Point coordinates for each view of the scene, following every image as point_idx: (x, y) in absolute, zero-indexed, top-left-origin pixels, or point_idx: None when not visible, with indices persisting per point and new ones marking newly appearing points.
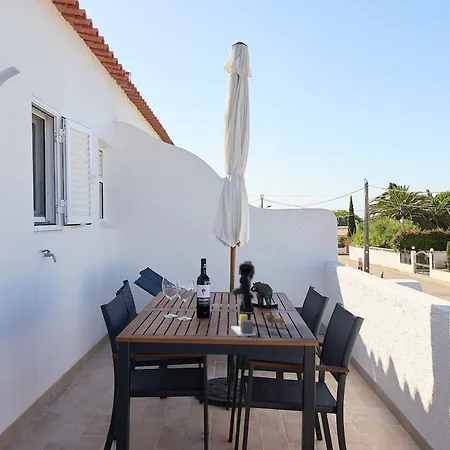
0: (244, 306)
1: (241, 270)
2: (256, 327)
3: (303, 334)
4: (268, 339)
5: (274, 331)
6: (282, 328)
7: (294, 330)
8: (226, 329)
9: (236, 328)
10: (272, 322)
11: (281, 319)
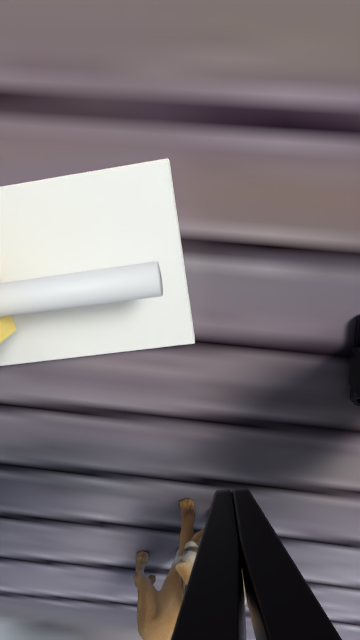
0: (202, 537)
1: None
2: (198, 413)
3: (3, 604)
4: None
5: (57, 502)
6: (139, 555)
7: (104, 591)
8: (81, 84)
9: (50, 219)
10: (180, 552)
11: (139, 631)
